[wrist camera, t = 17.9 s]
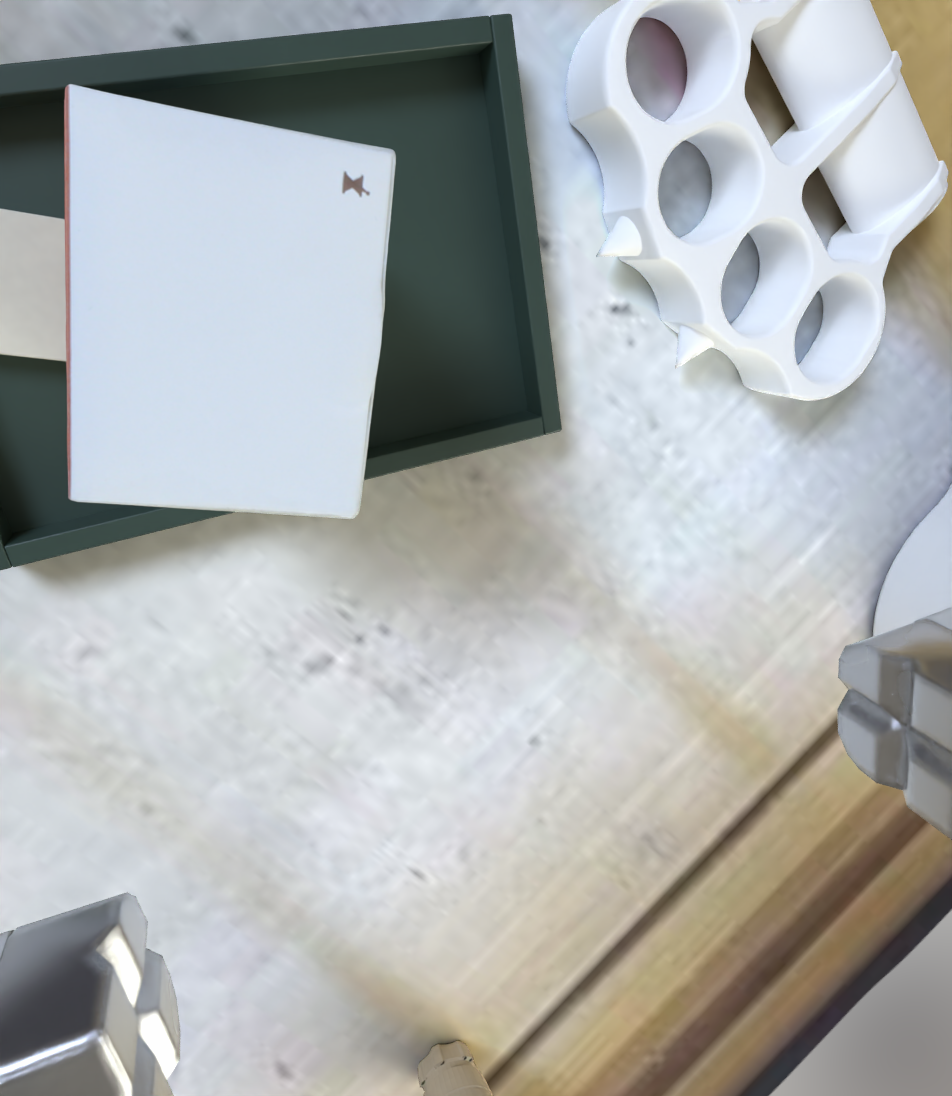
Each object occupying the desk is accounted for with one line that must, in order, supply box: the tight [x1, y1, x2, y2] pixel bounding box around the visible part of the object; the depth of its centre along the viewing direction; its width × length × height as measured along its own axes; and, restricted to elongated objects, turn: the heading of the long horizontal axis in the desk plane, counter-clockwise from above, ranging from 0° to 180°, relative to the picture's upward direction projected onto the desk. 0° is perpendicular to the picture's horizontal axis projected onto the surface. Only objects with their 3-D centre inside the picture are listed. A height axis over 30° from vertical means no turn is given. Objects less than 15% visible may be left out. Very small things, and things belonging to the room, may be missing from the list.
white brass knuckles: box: [566, 0, 948, 401], centre depth 32 cm, size 3×18×15 cm
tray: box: [0, 14, 561, 570], centre depth 27 cm, size 22×15×2 cm
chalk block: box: [0, 208, 66, 362], centre depth 25 cm, size 4×4×1 cm
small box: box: [64, 84, 396, 519], centre depth 22 cm, size 8×6×13 cm
